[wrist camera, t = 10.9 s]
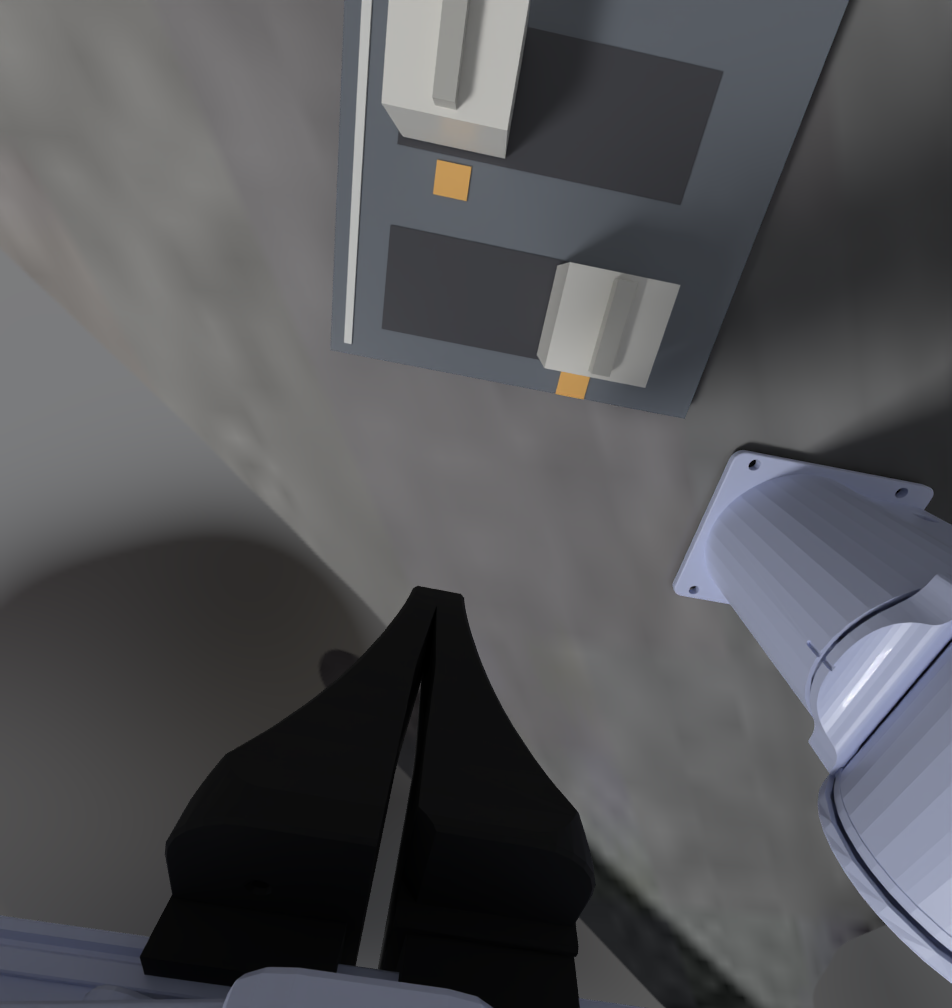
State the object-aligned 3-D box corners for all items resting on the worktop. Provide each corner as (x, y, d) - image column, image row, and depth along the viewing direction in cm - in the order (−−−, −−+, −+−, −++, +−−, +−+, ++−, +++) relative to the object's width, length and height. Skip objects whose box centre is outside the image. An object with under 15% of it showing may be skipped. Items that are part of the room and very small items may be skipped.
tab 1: (526, 32, 14) (536, -47, 11) (504, 158, 16) (507, 123, 12) (414, 7, 14) (388, -82, 11) (402, 136, 15) (375, 94, 12)
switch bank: (923, -233, 12) (958, -276, 11) (676, 412, 20) (685, 418, 19) (372, -379, 12) (361, -438, 11) (337, 347, 20) (330, 350, 19)
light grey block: (649, 284, 17) (688, 284, 14) (621, 371, 18) (650, 391, 15) (557, 265, 17) (573, 261, 13) (536, 354, 18) (546, 371, 15)
